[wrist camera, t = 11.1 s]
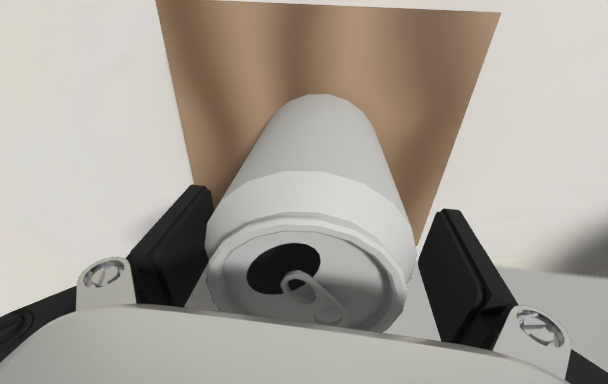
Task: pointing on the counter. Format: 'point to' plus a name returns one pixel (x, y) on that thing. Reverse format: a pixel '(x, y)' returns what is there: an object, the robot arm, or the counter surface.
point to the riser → (324, 80)
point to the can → (313, 224)
